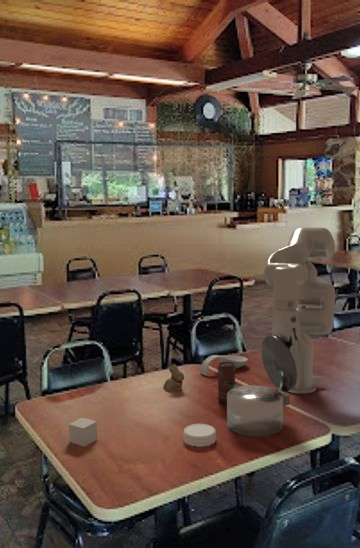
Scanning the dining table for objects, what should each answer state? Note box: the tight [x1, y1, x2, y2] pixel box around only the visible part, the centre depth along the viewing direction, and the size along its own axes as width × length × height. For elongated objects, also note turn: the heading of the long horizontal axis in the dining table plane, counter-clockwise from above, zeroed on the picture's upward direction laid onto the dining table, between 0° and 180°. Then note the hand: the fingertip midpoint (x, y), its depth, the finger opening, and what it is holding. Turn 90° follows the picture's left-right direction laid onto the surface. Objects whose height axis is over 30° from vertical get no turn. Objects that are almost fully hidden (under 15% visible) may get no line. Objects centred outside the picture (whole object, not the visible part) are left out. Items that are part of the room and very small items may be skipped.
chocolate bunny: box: [162, 363, 185, 392], centre depth 216 cm, size 6×8×10 cm
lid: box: [261, 334, 297, 393], centre depth 184 cm, size 19×19×4 cm
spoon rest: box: [199, 354, 249, 377], centre depth 239 cm, size 24×12×7 cm, turn 130°
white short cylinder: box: [182, 423, 217, 448], centre depth 172 cm, size 10×10×4 cm
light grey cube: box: [68, 417, 98, 448], centre depth 173 cm, size 6×6×6 cm
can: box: [217, 362, 236, 405], centre depth 203 cm, size 6×6×14 cm
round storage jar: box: [226, 381, 290, 437], centre depth 186 cm, size 20×26×10 cm
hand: (284, 359), depth 184 cm, fingers closed
